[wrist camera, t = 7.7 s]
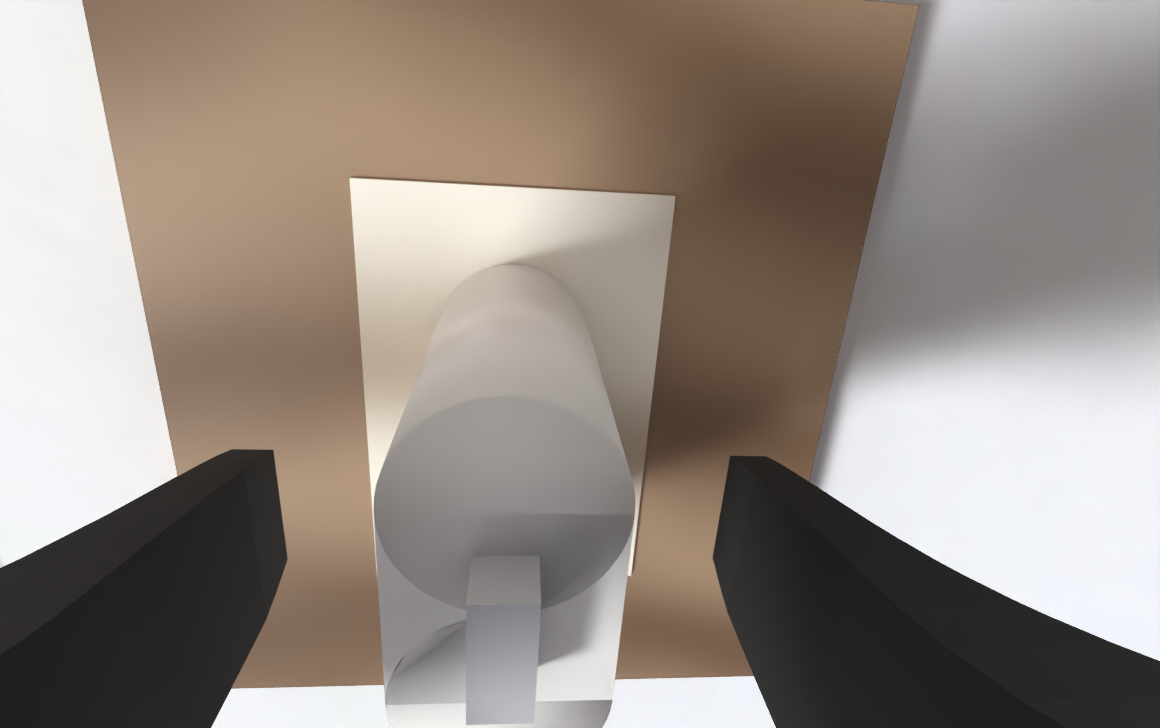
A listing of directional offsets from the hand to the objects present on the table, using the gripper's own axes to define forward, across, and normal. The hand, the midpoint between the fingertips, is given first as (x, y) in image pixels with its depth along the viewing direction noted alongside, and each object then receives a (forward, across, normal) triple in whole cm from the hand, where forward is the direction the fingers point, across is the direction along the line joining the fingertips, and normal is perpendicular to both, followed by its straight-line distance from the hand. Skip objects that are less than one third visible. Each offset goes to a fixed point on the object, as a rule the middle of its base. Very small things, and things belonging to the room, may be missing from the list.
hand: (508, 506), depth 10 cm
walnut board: (+5, 0, 0) cm, 5 cm away
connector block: (+3, 0, 0) cm, 4 cm away
